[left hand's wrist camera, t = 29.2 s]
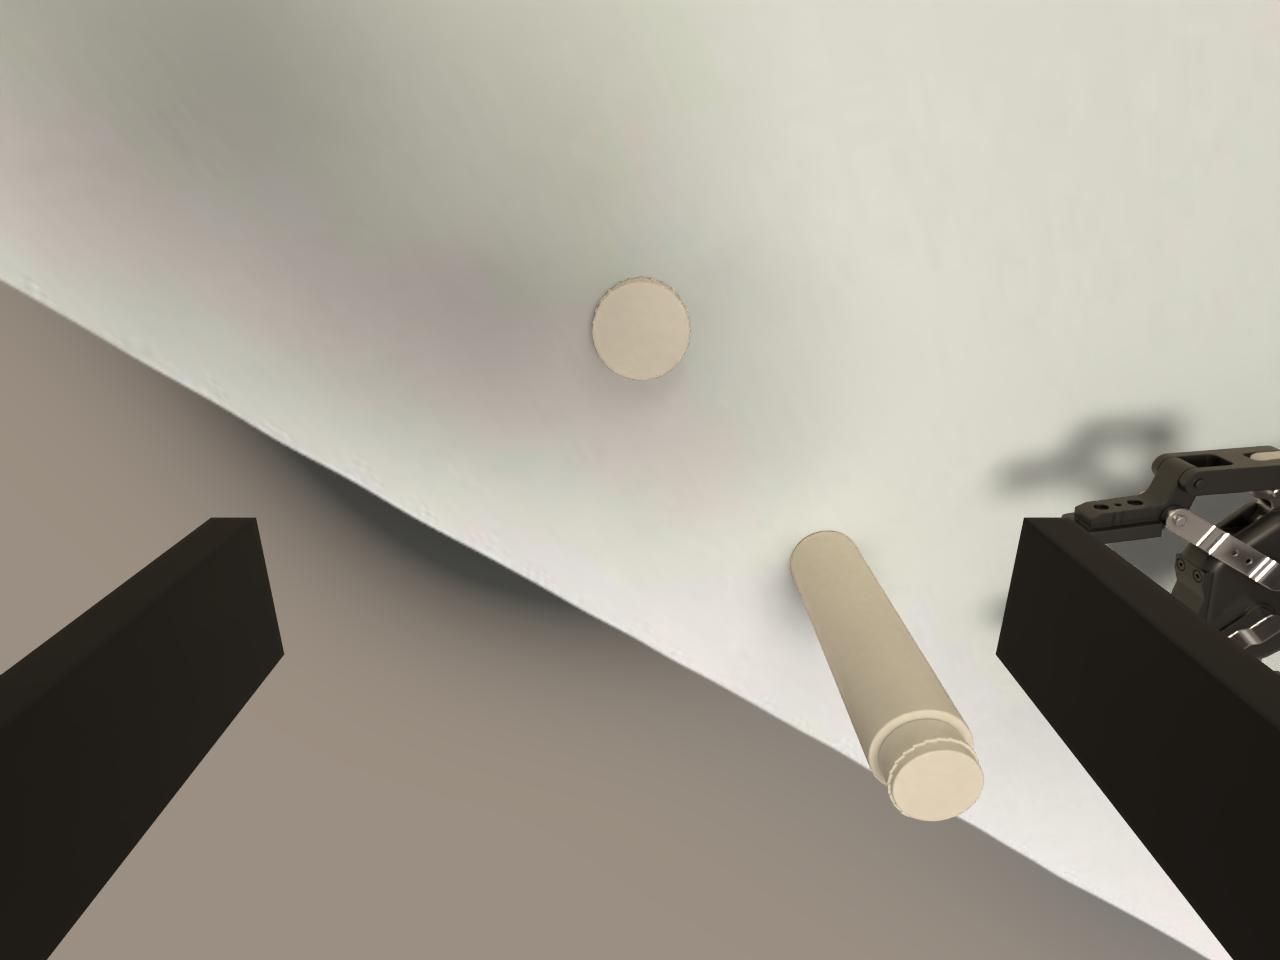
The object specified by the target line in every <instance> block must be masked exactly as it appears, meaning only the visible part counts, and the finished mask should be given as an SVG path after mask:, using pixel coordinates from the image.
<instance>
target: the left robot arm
mask: <svg viewBox="0 0 1280 960" xmlns="http://www.w3.org/2000/svg"><path fill="white" fill-rule="evenodd" d="M283 655H284V651H283V646H282V641H281V637H280V632H279V627H278V622H277V617H276V612H275V608H274V603H273V598H272V593H271V588H270V583H269V579H268V574H267V569H266V564H265V559H264V554H263V549H262V545H261V540H260V535H259V530H258V525H257V521H256V518H210V519H209V520H207V521H206V522H205V523H203V524H202V525H201V526H199V527H198V528H197V529H195V530H194V531H193V532H191V533H190V534H189V535H187V536H186V537H185V538H183V539H182V540H181V541H179V542H178V543H177V544H175V545H174V546H173V547H171V548H170V549H169V550H167V551H166V552H165V553H163V554H162V555H161V556H159V557H158V558H157V559H155V560H154V561H153V562H151V563H150V564H149V565H147V566H146V567H145V568H143V569H142V570H141V571H139V572H138V573H137V574H135V575H134V576H133V577H131V578H130V579H129V580H127V581H126V582H125V583H123V584H122V585H121V586H119V587H118V588H117V589H115V590H114V591H113V592H111V593H110V594H109V595H107V596H106V597H104V598H103V599H102V600H100V601H99V602H98V603H96V604H95V605H94V606H92V607H91V608H90V609H89V610H87V611H86V612H84V613H83V614H82V615H80V616H79V617H78V618H76V619H75V620H74V621H72V622H71V623H70V624H68V625H67V626H66V627H64V628H63V629H62V630H60V631H59V632H58V633H56V634H55V635H54V636H52V637H51V638H50V639H48V640H47V641H46V642H44V643H43V644H42V645H40V646H39V647H38V648H36V649H35V650H34V651H32V652H31V653H30V654H28V655H27V656H26V657H24V658H23V659H22V660H20V661H19V662H18V663H16V664H15V665H14V666H12V667H11V668H10V669H8V670H7V671H6V672H4V673H3V674H1V675H0V960H47V959H48V957H49V956H50V955H51V954H52V952H53V951H54V950H55V948H56V947H57V946H58V945H59V943H60V942H61V941H62V939H63V938H64V937H65V936H66V934H67V933H68V932H69V930H70V929H71V928H72V927H73V925H74V924H75V923H76V921H77V920H78V919H79V918H80V916H81V915H82V914H83V912H84V911H85V910H86V909H87V907H88V906H89V905H90V903H91V902H92V901H93V899H94V898H95V897H96V896H97V894H98V893H99V892H100V891H101V889H102V888H103V887H104V885H105V884H106V883H107V881H108V880H109V879H110V878H111V876H112V875H113V874H114V873H115V871H116V870H117V869H118V867H119V866H120V865H121V864H122V862H123V861H124V860H125V858H126V857H127V856H128V855H129V853H130V852H131V851H132V849H133V848H134V847H135V846H136V844H137V843H138V842H139V840H140V839H141V838H142V836H143V835H144V834H145V833H146V831H147V830H148V829H149V828H150V826H151V825H152V824H153V822H154V821H155V820H156V819H157V817H158V816H159V815H160V813H161V812H162V811H163V810H164V808H165V807H166V806H167V804H168V803H169V802H170V801H171V799H172V798H173V797H174V795H175V794H176V793H177V792H178V790H179V789H180V788H181V786H182V785H183V784H184V783H185V781H186V780H187V779H188V777H189V776H190V775H191V773H192V772H193V771H194V770H195V768H196V767H197V766H198V764H199V763H200V762H201V761H202V759H203V758H204V757H205V756H206V754H207V753H208V752H209V750H210V749H211V748H212V747H213V745H214V744H215V743H216V741H217V740H218V739H219V738H220V736H221V735H222V734H223V732H224V731H225V730H226V728H227V727H228V726H229V725H230V723H231V722H232V721H233V720H234V718H235V717H236V716H237V714H238V713H239V712H240V710H241V709H242V708H243V707H244V705H245V704H246V703H247V702H248V700H249V699H250V698H251V696H252V695H253V694H254V693H255V691H256V690H257V689H258V687H259V686H260V685H261V684H262V682H263V681H264V680H265V678H266V677H267V676H268V675H269V673H270V672H271V671H272V669H273V668H274V667H275V665H276V664H277V663H278V662H279V660H280V659H281V658H282V657H283ZM996 655H997V657H998V658H999V659H1000V660H1001V662H1002V663H1003V664H1004V666H1005V667H1006V668H1007V669H1008V671H1009V672H1010V673H1011V675H1012V676H1013V677H1014V678H1015V680H1016V681H1017V682H1018V684H1019V685H1020V686H1021V687H1022V689H1023V690H1024V691H1025V693H1026V694H1027V695H1028V696H1029V698H1030V699H1031V700H1032V702H1033V703H1034V704H1035V705H1036V707H1037V708H1038V709H1039V711H1040V712H1041V713H1042V714H1043V716H1044V717H1045V718H1046V720H1047V721H1048V722H1049V723H1050V725H1051V726H1052V727H1053V729H1054V730H1055V731H1056V732H1057V734H1058V735H1059V736H1060V738H1061V739H1062V740H1063V741H1064V743H1065V744H1066V745H1067V747H1068V748H1069V749H1070V750H1071V752H1072V753H1073V754H1074V756H1075V757H1076V758H1077V759H1078V761H1079V762H1080V763H1081V765H1082V766H1083V767H1084V768H1085V770H1086V771H1087V772H1088V774H1089V775H1090V776H1091V777H1092V779H1093V780H1094V781H1095V783H1096V784H1097V785H1098V786H1099V788H1100V789H1101V790H1102V792H1103V793H1104V794H1105V795H1106V797H1107V798H1108V799H1109V801H1110V802H1111V803H1112V804H1113V806H1114V807H1115V808H1116V810H1117V811H1118V812H1119V813H1120V815H1121V816H1122V817H1123V819H1124V820H1125V821H1126V822H1127V824H1128V825H1129V826H1130V828H1131V829H1132V830H1133V831H1134V833H1135V834H1136V835H1137V837H1138V838H1139V839H1140V840H1141V842H1142V843H1143V844H1144V846H1145V847H1146V848H1147V849H1148V851H1149V852H1150V853H1151V855H1152V856H1153V857H1154V858H1155V860H1156V861H1157V862H1158V864H1159V865H1160V866H1161V867H1162V869H1163V870H1164V871H1165V873H1166V874H1167V875H1168V876H1169V878H1170V879H1171V880H1172V882H1173V883H1174V884H1175V885H1176V887H1177V888H1178V889H1179V891H1180V892H1181V893H1182V894H1183V896H1184V897H1185V898H1186V900H1187V901H1188V902H1189V903H1190V905H1191V906H1192V907H1193V909H1194V910H1195V911H1196V912H1197V914H1198V915H1199V916H1200V918H1201V919H1202V920H1203V921H1204V923H1205V924H1206V925H1207V927H1208V928H1209V929H1210V930H1211V932H1212V933H1213V934H1214V936H1215V937H1216V938H1217V939H1218V941H1219V942H1220V943H1221V945H1222V946H1223V947H1224V948H1225V950H1226V951H1227V952H1228V954H1229V955H1230V956H1231V957H1232V959H1233V960H1280V672H1279V671H1273V670H1272V669H1270V668H1269V667H1268V666H1266V665H1265V664H1264V663H1262V662H1261V661H1260V660H1258V659H1257V658H1256V657H1254V656H1253V655H1252V654H1250V653H1249V652H1248V651H1246V650H1245V649H1244V648H1242V647H1241V646H1240V645H1238V644H1237V643H1236V642H1234V641H1233V640H1232V639H1230V638H1229V637H1228V636H1226V635H1225V634H1224V633H1222V632H1221V631H1220V630H1218V629H1217V628H1216V627H1214V626H1213V625H1212V624H1210V623H1209V622H1208V621H1206V620H1205V619H1204V618H1202V617H1201V616H1200V615H1198V614H1197V613H1196V612H1194V611H1193V610H1192V609H1190V608H1189V607H1188V606H1186V605H1185V604H1184V603H1182V602H1181V601H1180V600H1178V599H1177V598H1176V597H1174V596H1173V595H1172V594H1170V593H1169V592H1167V591H1166V590H1165V589H1163V588H1162V587H1161V586H1159V585H1158V584H1157V583H1155V582H1154V581H1153V580H1151V579H1150V578H1149V577H1147V576H1146V575H1145V574H1143V573H1142V572H1141V571H1139V570H1138V569H1137V568H1135V567H1134V566H1133V565H1131V564H1130V563H1129V562H1127V561H1126V560H1125V559H1123V558H1122V557H1121V556H1119V555H1118V554H1117V553H1115V552H1114V551H1113V550H1111V549H1110V548H1109V547H1107V546H1106V545H1105V544H1103V543H1102V542H1101V541H1099V540H1098V539H1097V538H1095V537H1094V536H1093V535H1091V534H1090V533H1089V532H1087V531H1086V530H1085V529H1083V528H1082V527H1081V526H1079V525H1078V524H1077V523H1075V522H1074V521H1073V520H1071V519H1070V518H1024V520H1023V525H1022V530H1021V535H1020V540H1019V545H1018V549H1017V554H1016V559H1015V564H1014V569H1013V574H1012V578H1011V583H1010V588H1009V593H1008V598H1007V603H1006V608H1005V612H1004V617H1003V622H1002V627H1001V632H1000V637H999V641H998V646H997V651H996Z"/></svg>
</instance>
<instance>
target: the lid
mask: <svg viewBox="0 0 1280 960" xmlns="http://www.w3.org/2000/svg"><path fill="white" fill-rule="evenodd" d="M681 301H682V300H681V297H680V296H677V295H676V293H675V292H674V291H673V288H672V287H671V288H669V287H668V286H666V285H665V284H664V282H659V281H656V280H653V278H651V279H648V278H642V277H640V278H635V279H630V278H628V280H627V281H624V282H622V283H620V282H618V284H617V285H616V286H615V287H613V288H612V289H609V290H608V293H607V294H606V295H605V296H604V297H602V298H601V300H600V304H599V306H598V307H596V310H595V313H596V314H595V317H594V318H593V321H592V324H593V331H592V335H593V341H594V347H595V348H596V351H597V353H598V355H599V357H600V358H601V359H602V361H603V362H604V363H605V364H606V365H607V366H608V367H609V368H610V369H611V370H612V371H614V372H615V373H617V374H619V375H621V376H623V377H626V378H629V379H634V380H648V379H653V378H657V377H659V376H662V375H664V374H666V373H667V372H669V371H670V370H671V369H673V368H674V367H675V366H676V365H677V364H678V363H679V361H680V360H681V358H682V357H683V356H684V353H685V351H686V349H687V346H688V345H689V337H690V334H691V331H690V325H689V323H690V319H689V316H687V313H686V312H687V309H686V306H683V304H682V302H681Z"/></svg>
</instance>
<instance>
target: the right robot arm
mask: <svg viewBox="0 0 1280 960" xmlns="http://www.w3.org/2000/svg"><path fill="white" fill-rule="evenodd" d="M1152 472H1153V473H1154V474H1155V477H1154V479H1153V481H1152V483H1151V485H1150V486H1149V488H1148V489H1147V490H1144V491H1142V492H1140V493H1139V494H1138V495H1136V496H1129V497H1122V498H1114V499H1107V500H1099V501H1091V502H1085V503H1083V504H1081V505H1079V506H1077V507H1075V512H1074V513H1067V514H1064V515H1062V518H1070V519H1071V520H1073V521H1074V522H1075V523H1077V524H1078V525H1079V526H1081V527H1082V528H1083V529H1085V530H1086V531H1087V532H1089V533H1090V534H1091V535H1093V536H1094V537H1095V538H1097V539H1098V540H1099V541H1101V542H1102V543H1103V544H1106V543H1114V542H1122V541H1129V540H1137V539H1145V538H1153V537H1161V532H1162V529H1163V528H1167V529H1169V530H1170V531H1172V532H1173V533H1175V534H1177V535H1179V536H1180V537H1182V538H1184V539H1185V540H1187V541H1189V542H1191V543H1190V544H1189V545H1188V546H1187V547H1186V549H1185V550H1184V552H1183V553H1180V554H1177V555H1176V562H1175V571H1176V576H1177V581H1176V584H1175V586H1174V588H1173V590H1172V593H1171V594H1172V595H1173V596H1174V597H1176V598H1177V599H1178V600H1180V601H1181V602H1182V603H1184V604H1185V605H1186V606H1188V607H1189V608H1190V609H1192V610H1193V611H1194V612H1196V613H1197V614H1198V615H1200V616H1201V617H1202V618H1204V619H1205V620H1206V621H1208V622H1209V623H1210V624H1212V625H1213V626H1214V627H1216V628H1217V629H1218V630H1220V631H1221V632H1222V633H1224V634H1225V635H1226V636H1228V637H1229V638H1230V639H1232V640H1233V641H1234V642H1236V643H1237V644H1238V645H1240V646H1241V647H1242V648H1244V649H1245V650H1246V651H1248V652H1249V653H1250V654H1252V655H1253V656H1254V657H1256V658H1257V659H1258V660H1260V661H1261V660H1262V658H1265V657H1268V656H1270V655H1272V654H1273V653H1275V652H1278V651H1280V450H1279V449H1277V448H1274V447H1272V446H1258V447H1245V448H1233V449H1220V450H1207V451H1195V452H1182V453H1170V454H1163V455H1161V456H1159V457H1157V458H1156V459H1155V460H1154V462H1153V464H1152ZM1237 492H1247V493H1249V494H1251V495H1253V496H1255V497H1257V501H1253V502H1250V503H1248V504H1246V505H1244V506H1243V507H1241V508H1240V509H1238V510H1237V511H1236V512H1234V513H1233V514H1231V515H1230V516H1228V517H1227V518H1225V519H1224V520H1222V521H1221V522H1220V523H1218V524H1217V525H1215V526H1214V525H1213V524H1211V523H1209V522H1208V521H1206V520H1204V519H1203V518H1201V517H1199V516H1198V515H1196V514H1194V513H1193V512H1191V511H1189V508H1190V506H1191V504H1192V503H1193V501H1194V499H1195V497H1196V496H1199V495H1212V494H1225V493H1237Z"/></svg>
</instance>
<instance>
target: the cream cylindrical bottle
mask: <svg viewBox="0 0 1280 960" xmlns="http://www.w3.org/2000/svg"><path fill="white" fill-rule="evenodd" d="M790 567H791V573H792V575H793V578H794V580H795V583H796V585H797V588H798V590H799V593H800V595H801V598H802V600H803V603H804V605H805V607H806V610H807V612H808V615H809V617H810V620H811V622H812V625H813V627H814V630H815V632H816V635H817V637H818V640H819V642H820V645H821V647H822V650H823V652H824V655H825V657H826V660H827V662H828V665H829V667H830V670H831V672H832V674H833V677H834V679H835V682H836V684H837V687H838V689H839V692H840V694H841V697H842V699H843V702H844V704H845V707H846V709H847V712H848V714H849V717H850V719H851V722H852V724H853V727H854V729H855V732H856V734H857V737H858V739H859V742H860V744H861V746H862V749H863V751H864V754H865V756H866V759H867V761H868V764H869V766H870V769H871V771H872V773H873V774H874V776H875V777H876V778H877V779H878V780H879V781H880V782H881V783H883V784H884V785H886V786H887V792H888V794H889V796H890V799H891V801H892V803H893V805H894V806H895V807H896V808H897V809H898V810H899V811H900V812H901V813H902V814H904V815H906V816H908V817H913V818H916V819H919V820H924V821H940V820H945V819H949V818H952V817H955V816H957V815H959V814H961V813H963V812H964V811H966V810H967V809H969V808H970V807H971V806H972V805H973V804H974V803H975V802H976V800H977V799H978V798H979V796H980V794H981V792H982V789H983V785H984V777H983V772H982V769H981V767H980V765H979V764H978V762H979V760H978V758H977V756H976V753H975V751H974V750H973V746H974V743H973V737H972V734H971V732H970V730H969V728H968V726H967V725H966V723H965V721H964V720H963V718H962V716H961V715H960V713H959V712H958V710H957V708H956V707H955V705H954V703H953V702H952V700H951V699H950V697H949V695H948V694H947V692H946V691H945V689H944V687H943V686H942V684H941V682H940V681H939V679H938V678H937V676H936V674H935V673H934V671H933V670H932V668H931V666H930V665H929V663H928V661H927V660H926V658H925V657H924V655H923V653H922V652H921V650H920V649H919V647H918V645H917V644H916V642H915V640H914V639H913V637H912V636H911V634H910V632H909V631H908V629H907V628H906V626H905V624H904V623H903V621H902V619H901V618H900V616H899V615H898V613H897V611H896V610H895V608H894V606H893V605H892V603H891V602H890V600H889V598H888V597H887V595H886V594H885V592H884V590H883V589H882V587H881V585H880V584H879V582H878V581H877V579H876V577H875V576H874V574H873V573H872V571H871V569H870V568H869V566H868V564H867V563H866V561H865V560H864V558H863V556H862V555H861V553H860V552H859V550H858V548H857V547H856V545H855V544H854V542H853V541H852V540H851V539H850V538H848V537H847V536H845V535H843V534H841V533H838V532H832V531H823V532H818V533H815V534H812V535H810V536H808V537H807V538H805V539H804V540H802V541H801V542H800V543H799V544H798V546H797V547H796V548H795V550H794V552H793V554H792V557H791V563H790Z"/></svg>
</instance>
